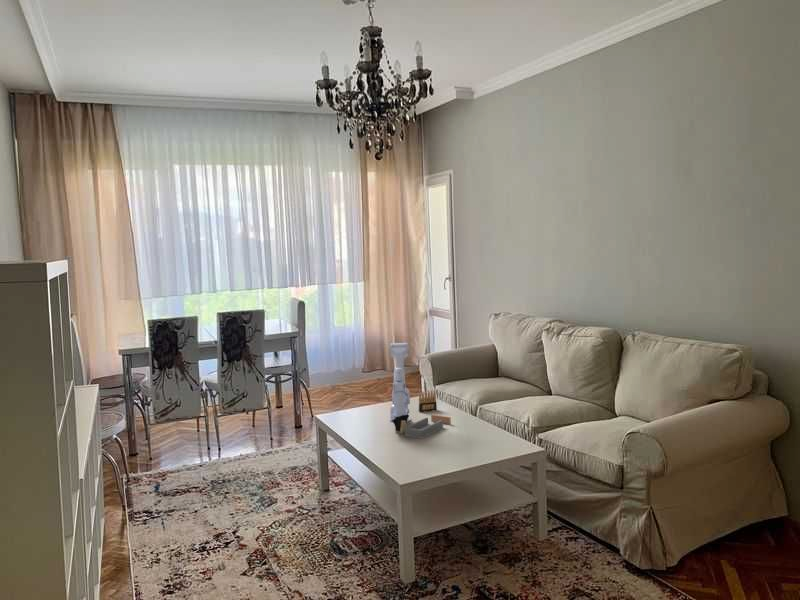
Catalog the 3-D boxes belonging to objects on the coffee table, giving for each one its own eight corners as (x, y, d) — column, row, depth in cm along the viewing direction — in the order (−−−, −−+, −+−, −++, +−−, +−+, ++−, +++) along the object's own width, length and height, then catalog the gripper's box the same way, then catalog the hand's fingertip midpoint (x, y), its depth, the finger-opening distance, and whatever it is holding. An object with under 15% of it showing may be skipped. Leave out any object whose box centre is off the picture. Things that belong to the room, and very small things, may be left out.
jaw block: (395, 432, 322) (395, 421, 321) (399, 430, 325) (399, 419, 325) (401, 433, 320) (401, 422, 319) (406, 431, 323) (405, 420, 322)
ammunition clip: (435, 409, 363) (435, 389, 362) (436, 410, 362) (436, 390, 360) (418, 411, 360) (418, 391, 359) (419, 412, 359) (418, 392, 358)
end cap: (431, 421, 339) (431, 414, 339) (432, 420, 340) (432, 414, 340) (449, 424, 333) (449, 417, 332) (450, 423, 334) (450, 417, 333)
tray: (404, 435, 317) (404, 427, 317) (426, 424, 334) (426, 417, 334) (421, 438, 311) (421, 430, 311) (442, 427, 328) (442, 420, 328)
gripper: (398, 408, 313) (399, 434, 314) (413, 401, 325) (414, 426, 326) (386, 406, 317) (387, 432, 318) (402, 400, 329) (403, 425, 330)
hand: (400, 429), depth 322 cm, fingers closed on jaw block, 4 cm apart
